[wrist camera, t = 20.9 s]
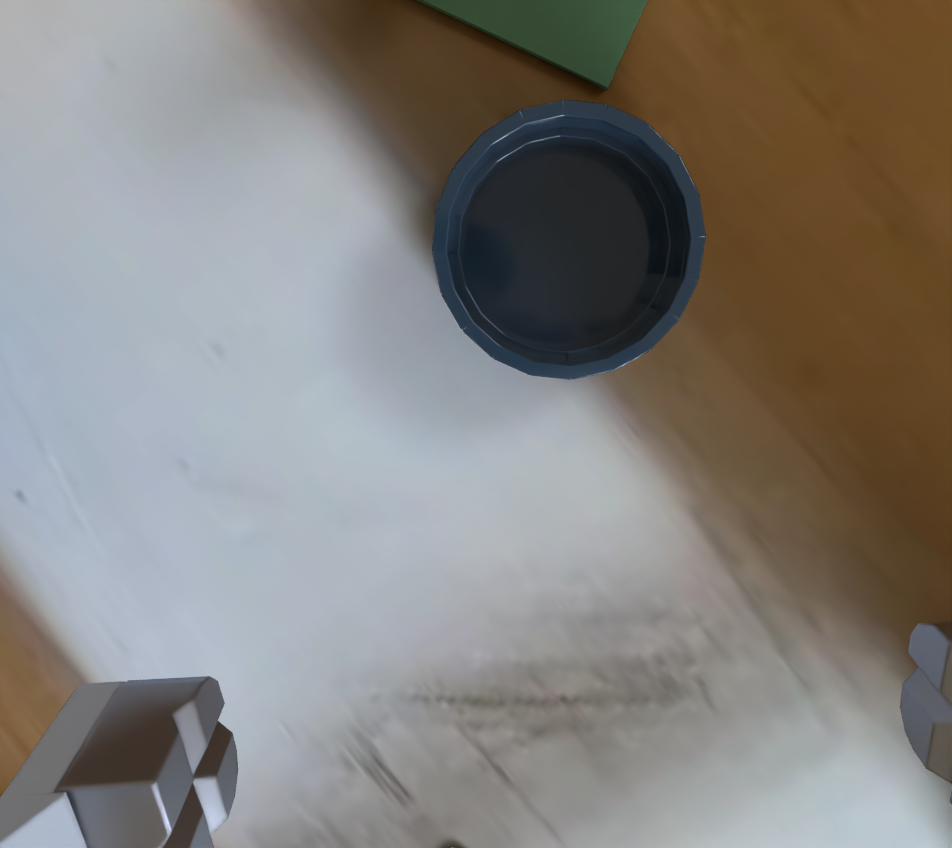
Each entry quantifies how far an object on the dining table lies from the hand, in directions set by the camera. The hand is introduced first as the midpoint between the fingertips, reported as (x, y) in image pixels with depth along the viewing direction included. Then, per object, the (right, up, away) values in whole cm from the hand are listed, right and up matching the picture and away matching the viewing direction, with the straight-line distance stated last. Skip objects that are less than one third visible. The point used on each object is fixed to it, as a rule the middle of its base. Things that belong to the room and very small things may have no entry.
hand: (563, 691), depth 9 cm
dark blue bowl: (+3, +11, +26) cm, 28 cm away
